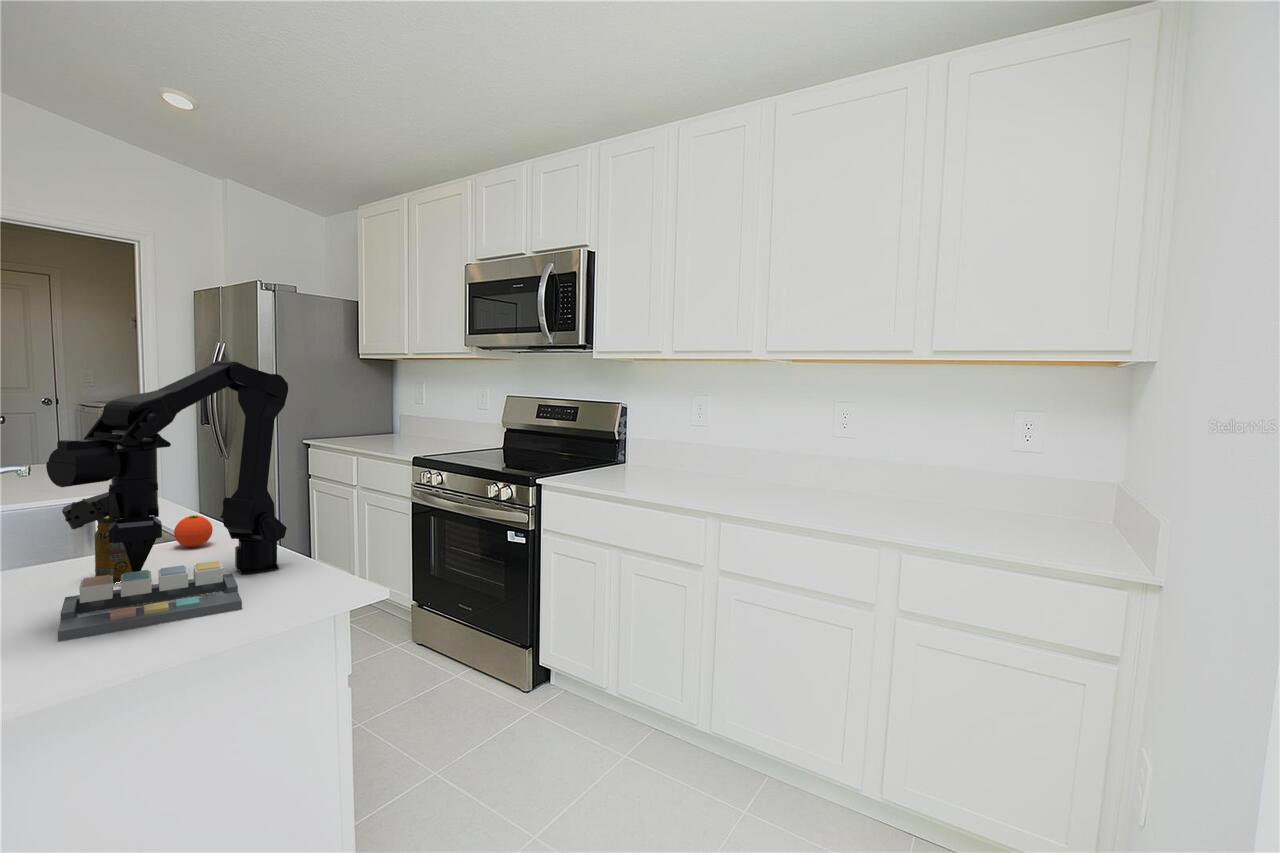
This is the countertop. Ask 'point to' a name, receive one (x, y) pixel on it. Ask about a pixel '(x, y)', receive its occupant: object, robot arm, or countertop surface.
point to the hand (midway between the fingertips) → (136, 570)
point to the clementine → (193, 531)
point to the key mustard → (208, 574)
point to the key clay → (96, 590)
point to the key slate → (173, 579)
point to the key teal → (136, 584)
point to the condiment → (109, 554)
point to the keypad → (146, 609)
